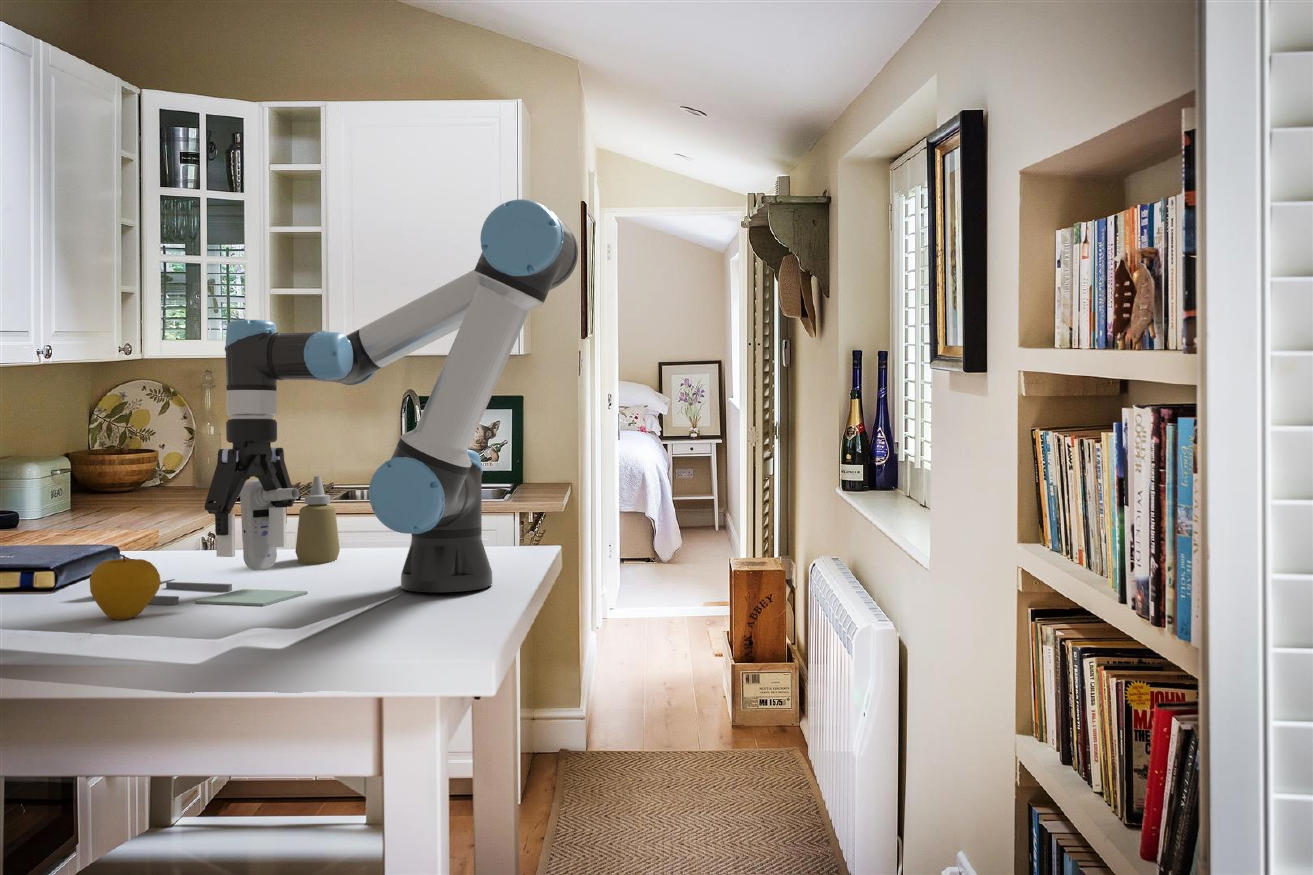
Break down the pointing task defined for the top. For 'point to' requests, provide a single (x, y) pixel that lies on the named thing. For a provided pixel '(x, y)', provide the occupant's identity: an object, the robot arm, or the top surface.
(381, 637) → the top surface
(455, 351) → the robot arm
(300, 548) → the squeeze bottle
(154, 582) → the apple
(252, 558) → the electronic device
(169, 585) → the dock
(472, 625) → the top surface
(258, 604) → the mat
